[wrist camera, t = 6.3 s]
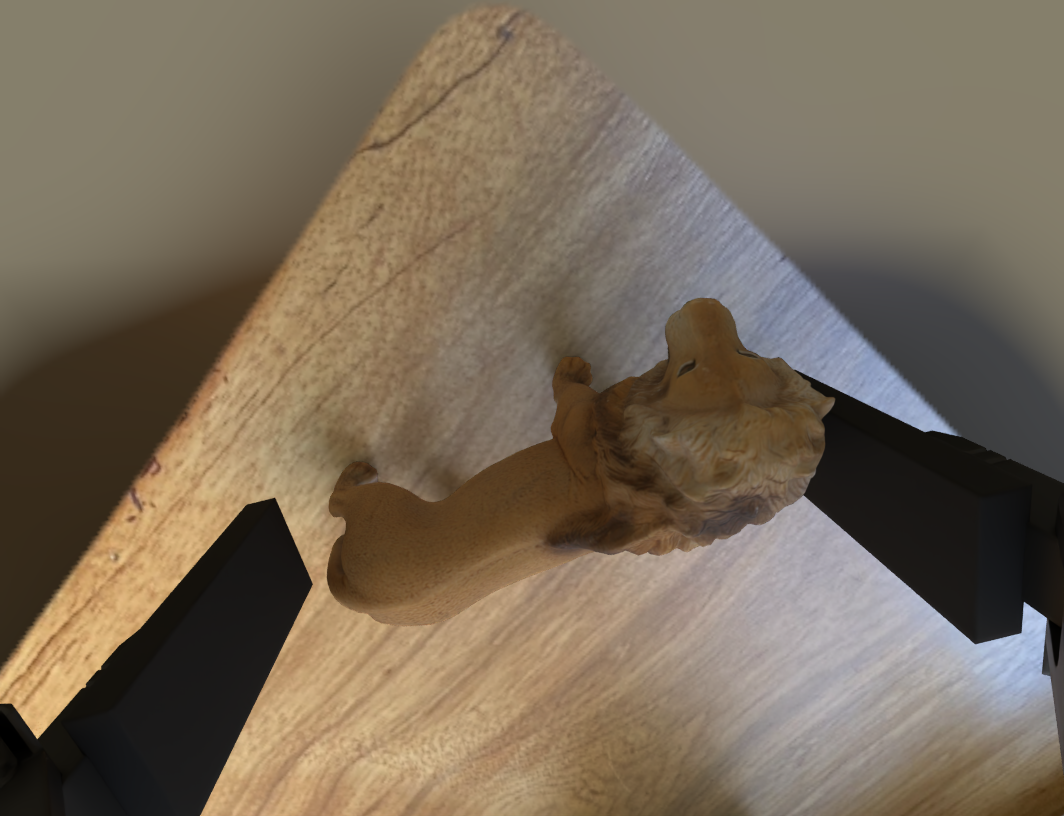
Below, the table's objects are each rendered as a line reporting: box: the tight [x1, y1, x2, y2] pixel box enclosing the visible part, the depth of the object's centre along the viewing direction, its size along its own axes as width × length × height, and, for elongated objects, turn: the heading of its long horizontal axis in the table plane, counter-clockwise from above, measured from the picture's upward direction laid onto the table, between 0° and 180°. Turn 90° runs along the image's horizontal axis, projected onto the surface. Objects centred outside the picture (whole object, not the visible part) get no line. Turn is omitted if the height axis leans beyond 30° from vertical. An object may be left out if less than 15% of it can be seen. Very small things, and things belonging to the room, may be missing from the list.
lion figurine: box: [327, 298, 835, 626], centre depth 15 cm, size 15×5×9 cm, turn 124°
